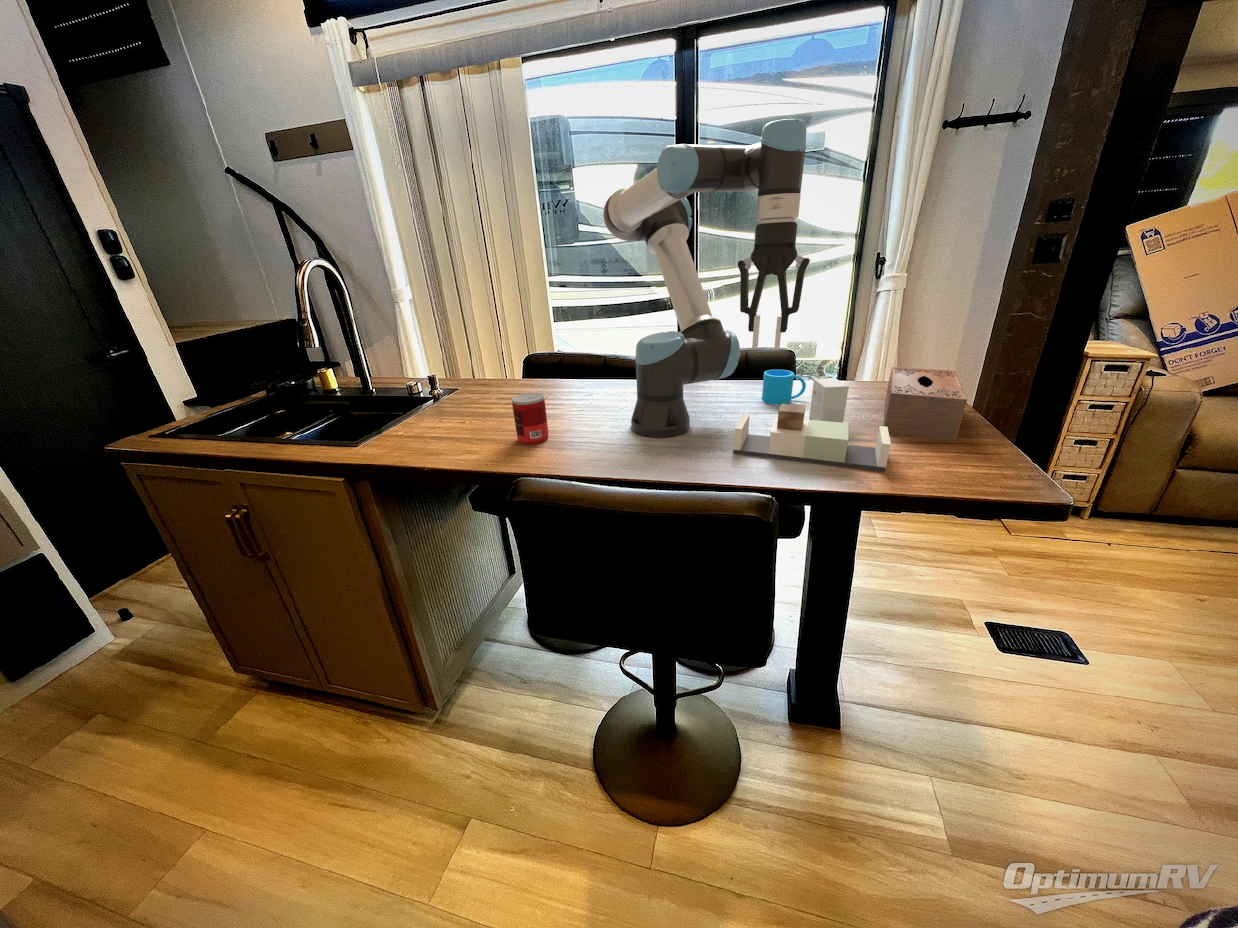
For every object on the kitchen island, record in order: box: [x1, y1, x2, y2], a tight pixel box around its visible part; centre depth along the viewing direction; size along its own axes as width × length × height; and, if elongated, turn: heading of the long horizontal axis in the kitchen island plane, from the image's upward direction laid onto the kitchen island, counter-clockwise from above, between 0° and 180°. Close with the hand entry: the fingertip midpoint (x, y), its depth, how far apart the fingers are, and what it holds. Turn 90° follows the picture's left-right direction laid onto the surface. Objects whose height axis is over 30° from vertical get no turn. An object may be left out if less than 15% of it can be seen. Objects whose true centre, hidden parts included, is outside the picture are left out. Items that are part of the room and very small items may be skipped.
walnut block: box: [777, 403, 806, 431], centre depth 101 cm, size 5×5×4 cm
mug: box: [761, 369, 807, 406], centre depth 135 cm, size 12×8×8 cm
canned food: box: [511, 392, 549, 446], centre depth 116 cm, size 8×8×11 cm
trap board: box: [733, 413, 892, 473], centre depth 102 cm, size 30×10×6 cm, turn 66°
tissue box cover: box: [882, 366, 968, 442], centre depth 117 cm, size 26×14×10 cm, turn 152°
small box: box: [808, 377, 850, 423], centre depth 117 cm, size 8×6×10 cm
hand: (765, 347), depth 98 cm, fingers open, 4 cm apart
